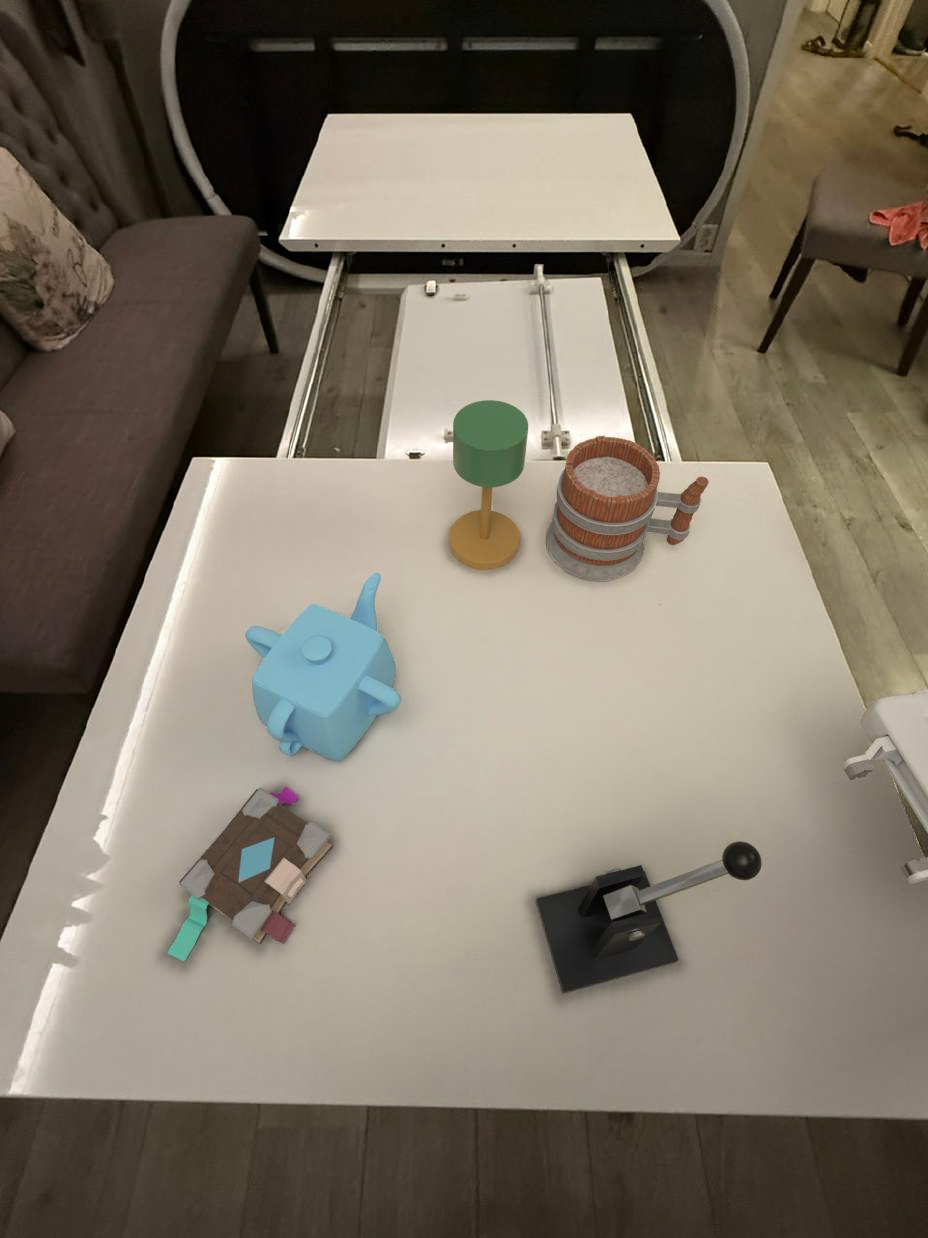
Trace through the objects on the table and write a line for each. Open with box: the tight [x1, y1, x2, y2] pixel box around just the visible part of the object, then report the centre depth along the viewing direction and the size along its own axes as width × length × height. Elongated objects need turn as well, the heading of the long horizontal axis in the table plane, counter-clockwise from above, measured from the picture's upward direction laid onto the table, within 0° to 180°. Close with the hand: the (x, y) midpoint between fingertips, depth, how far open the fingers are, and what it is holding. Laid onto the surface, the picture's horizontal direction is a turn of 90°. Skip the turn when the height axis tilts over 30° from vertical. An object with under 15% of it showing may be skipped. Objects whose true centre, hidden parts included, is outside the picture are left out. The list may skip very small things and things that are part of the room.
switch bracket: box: [535, 864, 679, 995], centre depth 70 cm, size 12×9×13 cm
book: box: [166, 786, 334, 962], centre depth 75 cm, size 20×12×5 cm, turn 148°
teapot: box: [245, 572, 402, 763], centre depth 84 cm, size 18×16×14 cm
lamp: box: [448, 399, 529, 571], centre depth 96 cm, size 10×10×22 cm
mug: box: [545, 435, 710, 582], centre depth 99 cm, size 14×19×15 cm
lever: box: [603, 840, 763, 921], centre depth 65 cm, size 14×3×3 cm, turn 103°
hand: (876, 819), depth 63 cm, fingers open, 8 cm apart
